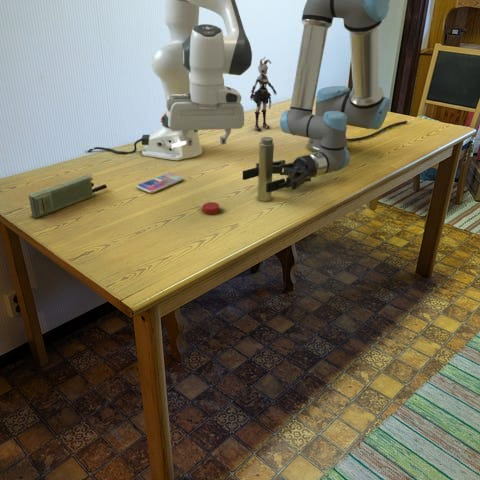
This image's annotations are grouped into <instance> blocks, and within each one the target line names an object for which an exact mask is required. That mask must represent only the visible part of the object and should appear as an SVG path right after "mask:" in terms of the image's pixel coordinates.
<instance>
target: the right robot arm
mask: <svg viewBox="0 0 480 480" xmlns="http://www.w3.org/2000/svg"><path fill="white" fill-rule="evenodd" d="M390 2H391V1H390V0H306V1H305V4H304V8H303V10H302V15H301V23H302V24H303V29H302V35H301V41H300V47H299V53H298V58H297V63H296V64H297V65H296V71H295V77H294V83H293V88H292V95H291V100H290V105H289V106H290V107H289V110H287V109H286V110H285V111H283V112H282V114H281V117H280V119H279V128H280V130H281V132H283V133H284V134H288V135H292V136H294V137H295V136H296V137H302V138H308V141H307V148H308V150H310V151H312V152H311V153H308V154H304V155H301V156H298V157H296V158H295V159H294V160H293V162H288V163H286V160H285V159H281V160H275V161H273V173H272V175H275V174H276V175H280V176H287V177H286V178H284V177H283V178H279V179H276V180H272V182H269V183H266V192H267V193H268V192H274V191H279V190H282V189H291V190H293V191H295V190H297V189H299V188H300V187H301V186H303V185H304V184H305V183H307V182H311V181H312V179H313V178H317V177H319V176H322V175H326V174H329V173H333V172H339V171H340V170H343V169H345V168H347V167H348V165H349V164H350V162H351V156H350V151H349V149H348V145H349V144H348V142H355V141H360V140H364V139H369V138H371V137H374V136H376V135H378V134H380V133H382V132H383V131H385V130H387V129H390V128H392V127H395V126H399V125H404V124H407V123H408V121H407V120H404V121H399V122H395V123H392V124H389V125H387V126H385V127H383V125H384V123H385V120H386V118H387V115H388V113H389V109H390V104H391V103H390V101H391V100H390V98H389V97H387V96H384V90H383V89H382V87H381V86H380V84H379V83H380V82H379V81H380V80H379V37H378V33H379V32H378V30H379V29H378V28H379V27H380V26H381V25H382V23H383V21H384V20H385V19H386V17H387V16H388V12H389V9H390V5H389V4H390ZM335 18H336V19H343V20H342V21H343V27H344V29H345V30H346V31H348V33H349V46H350V48H349V49H350V61H351V76H352V89H350V87H349V86H346V85H332V86H326V87H322V88H320V89H318V83H319V79H320V74H321V73H320V72H321V68H322V67H321V66H322V62H323V61H322V60H323V57H324V56H323V55H324V51H325V46H326V41H327V35H328V30H329V28H330V27H332V25H333V20H334V19H335ZM317 89H318V91H317ZM315 99H316V100H315ZM314 105H315V110H314ZM313 110H314V114H313ZM347 126H350V127H355V128H361V129H365V130H374V131H375V132H373V133H371V134H368V135H364V136H359V137H354V138H347V129H348V127H347ZM381 127H382V128H381ZM376 130H377V131H376ZM258 174H259V162H256V166H255V167H252V168H249V169H245V170H242V180H243V181H245V180H249V179H254V178H258Z"/></svg>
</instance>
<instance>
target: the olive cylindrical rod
mask: <svg viewBox="0 0 480 480" xmlns="http://www.w3.org/2000/svg"><path fill="white" fill-rule="evenodd" d="M273 140H274V138H272V137H271V136H262V137H261V138H260V141H259V143H258V145H259V148H258V163H259V174H258V176H257V179H258V180H257V201H260V202H270V201H271V200H272V192H273V191H272V192H268V193H267V192H266V183H269V182H273V174H272V173H273V162H274V148H275V143H274V141H273Z"/></svg>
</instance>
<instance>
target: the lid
mask: <svg viewBox="0 0 480 480" xmlns="http://www.w3.org/2000/svg"><path fill="white" fill-rule="evenodd" d="M220 209H221V207H220V204H219V203H217V202H214V201H213V202H212V201H209V202H208V201H207V202H205V203H203V205H202V213H204V214H205V215H216V214H218V213H220Z"/></svg>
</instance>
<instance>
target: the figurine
mask: <svg viewBox="0 0 480 480" xmlns="http://www.w3.org/2000/svg"><path fill="white" fill-rule="evenodd" d="M268 63H269V64H270V65H271V64H272V61H271V60H270V59H268V58H267V59H266V56H264V57H263V58H261V59H260V60H259V64H258V68H257V70H258V73H259V75H258V76H257V77H256V80H255V82H254V85H252V87H251V88H252V89H251V91H250V93H251V94H250V97H249V99H250V101H253V102H254V103H255V104H256V109H255V112H254V114H255V125H254V129H255V131H257V132H261V130H262V129H261V128H260V126H259V117H260V115H261V113H262V120H263V121H262V128H264V129H266V130H267V129H270V125H268V123H267V121H266V117H267V105H268V110H270V109H271V106H272V97H271V96H272V95H271V93H270V92H269V90H268V88H267V86H268V87H270V89H271V90H272V92H273V95H274V96H277V93H278V92H277V90H276V89H275V87H274V85H272V83H271V82H270V81H269V78H268V75H267V74H268V69H269V67H268ZM258 84H259V88H258V89H257V90H256V88H257V85H258ZM261 107H262V109H261Z"/></svg>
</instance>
